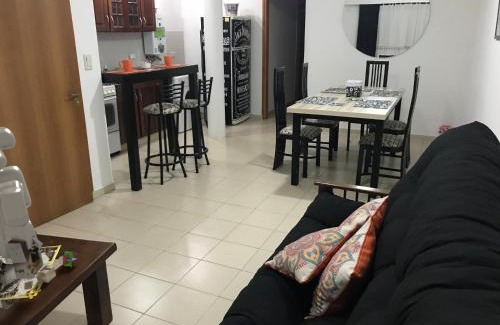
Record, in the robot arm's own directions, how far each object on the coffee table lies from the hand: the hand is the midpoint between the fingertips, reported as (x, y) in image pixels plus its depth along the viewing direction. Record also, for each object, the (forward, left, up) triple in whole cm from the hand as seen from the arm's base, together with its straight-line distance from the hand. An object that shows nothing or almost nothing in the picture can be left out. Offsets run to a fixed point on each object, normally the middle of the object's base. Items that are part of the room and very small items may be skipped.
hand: (27, 259), depth 156 cm
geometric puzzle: (+3, +18, -15) cm, 24 cm away
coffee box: (0, 0, -6) cm, 6 cm away
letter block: (-1, +8, -15) cm, 17 cm away
